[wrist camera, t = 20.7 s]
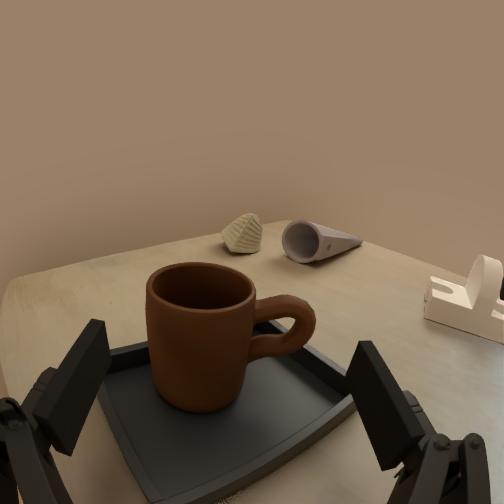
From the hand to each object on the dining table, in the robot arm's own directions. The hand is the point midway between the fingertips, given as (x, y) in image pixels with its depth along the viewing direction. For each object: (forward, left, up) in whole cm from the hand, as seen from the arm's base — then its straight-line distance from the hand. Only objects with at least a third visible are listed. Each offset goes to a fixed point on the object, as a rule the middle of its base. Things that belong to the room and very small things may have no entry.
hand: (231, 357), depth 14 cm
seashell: (-18, +39, -9) cm, 44 cm away
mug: (-3, +5, -9) cm, 11 cm away
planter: (-2, +52, -9) cm, 53 cm away
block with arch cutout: (+27, +34, -9) cm, 44 cm away
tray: (-2, +4, -9) cm, 10 cm away
